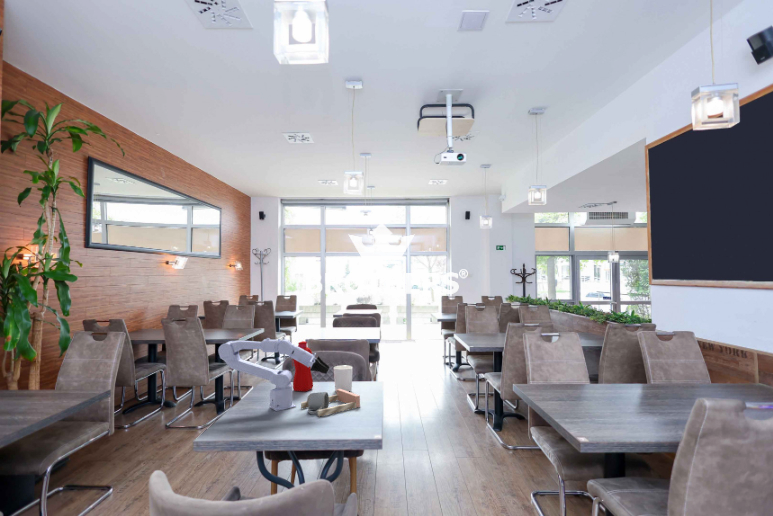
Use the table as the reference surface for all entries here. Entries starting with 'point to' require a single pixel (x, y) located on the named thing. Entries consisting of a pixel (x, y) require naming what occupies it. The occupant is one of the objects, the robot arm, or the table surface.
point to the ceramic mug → (317, 402)
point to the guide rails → (332, 409)
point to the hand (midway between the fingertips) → (328, 370)
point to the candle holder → (343, 377)
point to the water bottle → (302, 372)
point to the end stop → (348, 397)
